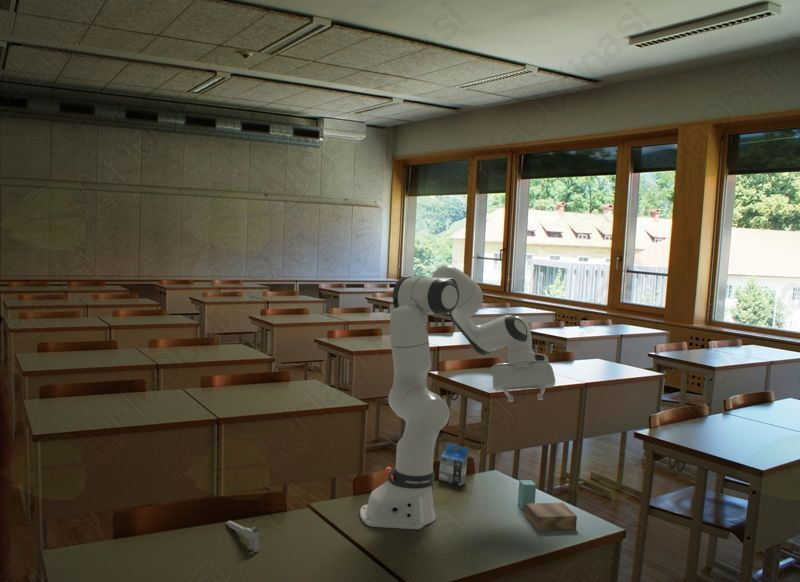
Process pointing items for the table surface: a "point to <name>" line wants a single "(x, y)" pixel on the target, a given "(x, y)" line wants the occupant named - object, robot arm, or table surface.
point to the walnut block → (550, 516)
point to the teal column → (526, 493)
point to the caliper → (247, 534)
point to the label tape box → (453, 465)
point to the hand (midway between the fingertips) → (525, 400)
